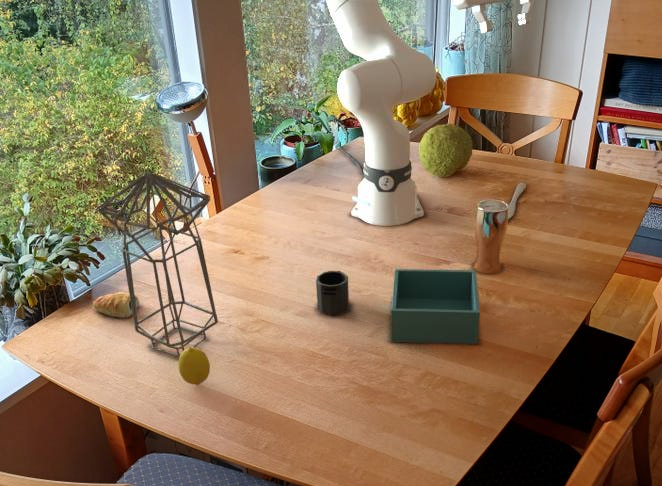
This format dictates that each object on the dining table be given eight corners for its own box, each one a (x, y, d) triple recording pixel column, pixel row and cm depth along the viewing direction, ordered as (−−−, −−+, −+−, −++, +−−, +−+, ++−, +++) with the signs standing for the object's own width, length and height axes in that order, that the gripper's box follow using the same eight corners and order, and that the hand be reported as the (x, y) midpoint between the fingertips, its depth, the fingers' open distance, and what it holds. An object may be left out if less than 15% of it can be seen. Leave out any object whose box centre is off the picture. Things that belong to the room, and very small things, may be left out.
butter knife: (530, 183, 205) (519, 181, 206) (507, 223, 185) (496, 221, 186) (529, 185, 205) (519, 183, 206) (507, 225, 185) (495, 223, 186)
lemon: (183, 376, 138) (176, 340, 133) (213, 374, 138) (207, 338, 133) (180, 394, 133) (173, 358, 128) (211, 392, 133) (205, 355, 129)
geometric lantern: (180, 314, 156) (149, 152, 136) (236, 336, 148) (212, 167, 128) (123, 350, 145) (80, 180, 125) (180, 376, 138) (144, 199, 118)
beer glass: (502, 275, 164) (509, 212, 155) (470, 273, 165) (475, 211, 157) (503, 261, 170) (509, 199, 161) (472, 259, 171) (477, 198, 162)
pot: (321, 296, 160) (319, 267, 156) (350, 297, 159) (349, 268, 155) (315, 318, 152) (313, 289, 148) (346, 319, 152) (345, 289, 148)
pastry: (88, 315, 157) (84, 300, 155) (103, 300, 162) (99, 284, 160) (129, 319, 155) (125, 303, 153) (143, 303, 160) (139, 287, 158)
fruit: (470, 184, 207) (447, 141, 198) (426, 194, 216) (403, 153, 208) (486, 148, 216) (465, 105, 207) (443, 159, 225) (421, 118, 216)
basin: (394, 298, 158) (394, 269, 154) (473, 300, 156) (475, 270, 152) (391, 341, 144) (391, 310, 140) (477, 344, 143) (480, 312, 138)
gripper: (526, -57, 139) (535, 22, 143) (440, -44, 130) (453, 40, 135) (550, -67, 133) (559, 15, 138) (463, -54, 125) (476, 33, 130)
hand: (506, 27), depth 136 cm, fingers open, 8 cm apart
